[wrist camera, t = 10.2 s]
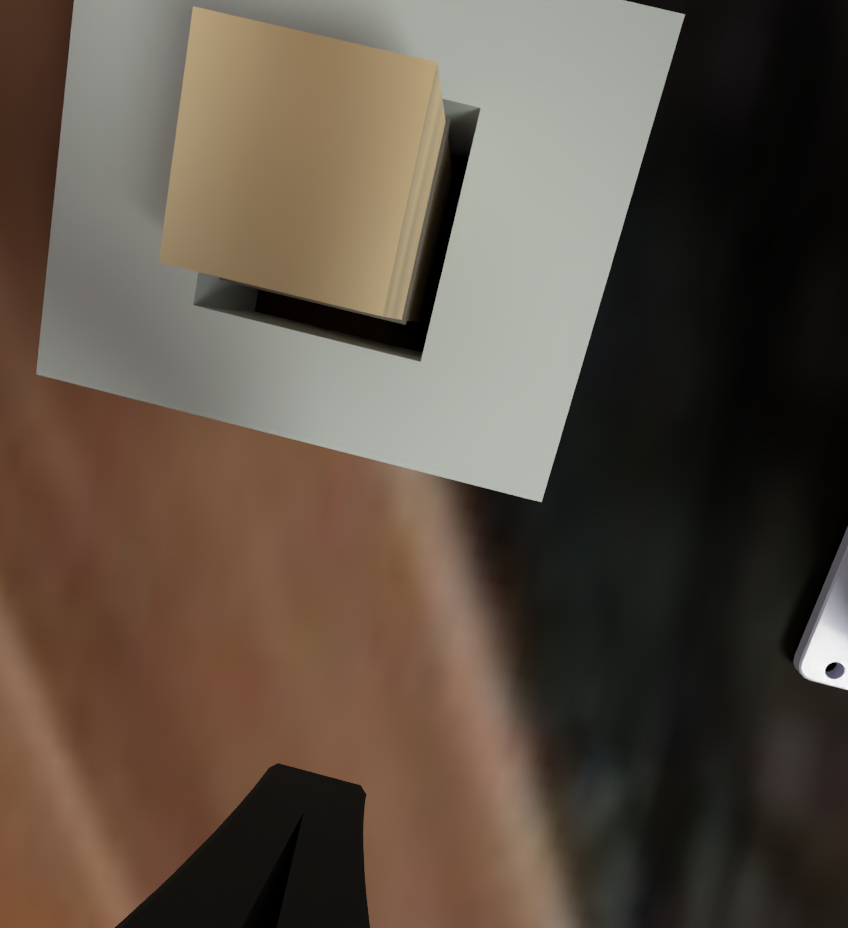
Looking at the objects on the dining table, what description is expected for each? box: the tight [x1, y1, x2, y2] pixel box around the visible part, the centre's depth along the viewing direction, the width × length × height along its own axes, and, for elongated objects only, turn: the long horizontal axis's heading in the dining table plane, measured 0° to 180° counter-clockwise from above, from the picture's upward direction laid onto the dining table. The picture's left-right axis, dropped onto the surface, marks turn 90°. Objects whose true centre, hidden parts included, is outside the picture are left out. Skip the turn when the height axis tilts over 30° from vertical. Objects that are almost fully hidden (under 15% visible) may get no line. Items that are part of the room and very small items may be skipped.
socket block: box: [36, 0, 685, 502], centre depth 15 cm, size 12×10×4 cm
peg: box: [159, 6, 453, 325], centre depth 14 cm, size 4×4×7 cm
